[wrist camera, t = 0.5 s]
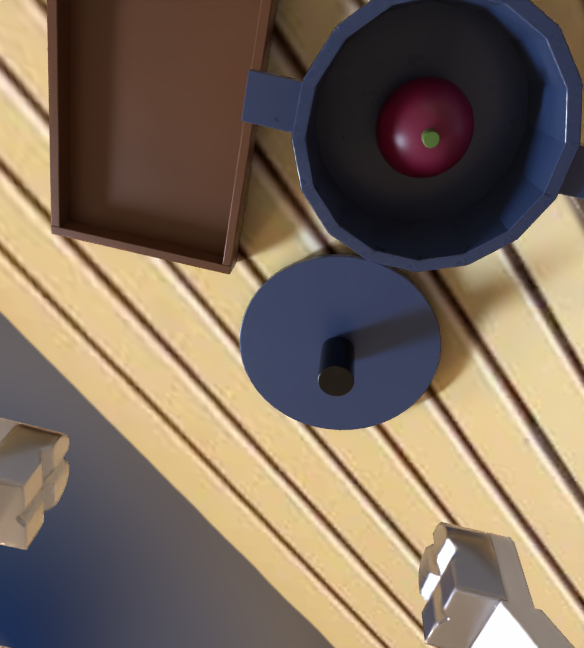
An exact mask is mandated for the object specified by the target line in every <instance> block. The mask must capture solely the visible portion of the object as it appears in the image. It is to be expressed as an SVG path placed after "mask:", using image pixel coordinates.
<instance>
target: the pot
mask: <svg viewBox="0 0 584 648" xmlns="http://www.w3.org/2000/svg"><path fill="white" fill-rule="evenodd" d="M426 76H432V77H440V78H443V79H446V80H448V81H450V82H452V83H453V84H455V85H456V86H458V87H459V88H460V89H461V90H462V91H463V93H464V94H465V95H466V96H467V98H468V100H469V102H470V104H471V106H472V110H473V114H474V132H473V137H472V140H471V143H470V145H469V148H468V149H467V151H466V153H465V154H464V156H463V157H462V158H461V160H460V161H459V162H458V163H457V164H456V165H454V166H453V167H452V168H451V169H449V170H448V171H446V172H444V173H442V174H440V175H437V176H434V177H430V178H413V177H409V176H405V175H403V174H401V173H399V172H397V171H396V170H394V169H393V168H392V167H391V166H389V164H388V163H387V162H386V161H385V159H384V158H383V156H382V155H381V153H380V151H379V148H378V145H377V140H376V123H377V118H378V115H379V112H380V109H381V107H382V105H383V103H384V102H385V100H386V99H387V98H388V96H389V95H390V94H391V93H392V92H393V91H394V90H395V89H396V88H398V87H399V86H400V85H402V84H403V83H405V82H407V81H409V80H412V79H415V78H419V77H426ZM582 91H583V84H582V79H581V77H580V74H579V72H578V69H577V67H576V65H575V62H574V60H573V57H572V55H571V52H570V50H569V47H568V45H567V42H566V40H565V37H564V35H563V32H562V30H561V28H560V27H559V25H558V24H557V23H556V22H555V21H553V20H552V19H551V18H550V17H549V16H548V15H546V14H545V13H544V12H543V11H542V10H541V9H539V8H538V7H537V6H536V5H535V4H534V3H532V2H531V1H530V0H371V1H369V2H368V3H366V4H365V5H364V6H362V7H361V8H360V9H358V10H357V11H356V12H354V13H353V14H352V15H350V16H349V17H348V18H346V19H345V20H344V21H342V22H341V23H340V24H338V25H337V27H335V28H334V30H333V32H332V33H331V35H330V36H329V38H328V40H327V41H326V43H325V44H324V46H323V48H322V49H321V51H320V53H319V54H318V56H317V57H316V59H315V61H314V62H313V64H312V65H311V67H310V69H309V70H308V72H307V73H306V75H305V77H304V78H303V80H299V79H295V78H291V77H286V76H282V75H277V74H273V73H269V72H264V71H260V70H256V69H251V70H249V71H248V78H247V85H246V92H245V99H244V105H243V112H242V119H241V120H242V121H243V122H248V123H252V124H256V125H261V126H265V127H269V128H274V129H278V130H283V131H287V132H291V133H292V144H293V149H294V155H295V160H296V165H297V171H298V176H299V181H300V186H301V190H302V193H303V194H304V196H305V198H306V199H307V201H308V202H309V204H310V205H311V207H312V208H313V210H314V211H315V213H316V215H317V216H318V218H319V219H320V221H321V222H322V224H323V225H324V227H325V229H326V230H327V232H328V233H329V234H330V235H332V236H333V237H335V238H336V239H337V240H339V241H340V242H342V243H343V244H345V245H346V246H348V247H349V248H350V249H352V250H353V251H355V252H356V253H358V254H359V255H361V256H362V257H363V258H365V259H366V260H368V261H370V262H374V263H379V264H383V265H387V266H392V267H396V268H400V269H405V270H409V271H414V272H421V271H428V270H436V269H443V268H450V267H458V266H465V265H467V264H468V265H469V264H471V263H473V262H475V261H477V260H479V259H481V258H483V257H484V256H486V255H488V254H490V253H492V252H494V251H496V250H498V249H500V248H502V247H504V246H506V245H508V244H510V243H512V242H514V241H515V240H517V239H518V238H519V237H520V236H521V235H522V234H523V233H524V232H525V231H526V230H527V229H528V228H529V227H530V225H531V224H532V223H533V222H534V221H535V220H536V219H537V218H538V217H539V216H540V215H541V214H542V213H543V212H544V211H545V210H546V209H547V208H548V207H549V206H550V204H551V203H552V202H553V201H554V200H555V199H556V198H557V196H558V194H563V195H567V196H572V197H576V198H580V199H584V144H580V139H581V115H582Z"/></svg>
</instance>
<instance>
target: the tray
mask: <svg viewBox="0 0 584 648" xmlns="http://www.w3.org/2000/svg"><path fill="white" fill-rule="evenodd" d="M277 4H278V0H47V28H48V80H49V131H50V183H51V233H52V234H56V235H60V236H64V237H69V238H73V239H77V240H82V241H86V242H91V243H95V244H99V245H104V246H108V247H112V248H117V249H121V250H125V251H130V252H134V253H138V254H143V255H147V256H152V257H156V258H160V259H165V260H169V261H173V262H178V263H182V264H186V265H191V266H195V267H199V268H204V269H208V270H212V271H217V272H221V273H226V274H230V273H231V271H232V269H233V268H234V266H235V264H236V260H237V254H238V248H239V242H240V235H241V229H242V223H243V217H244V210H245V204H246V198H247V192H248V185H249V179H250V173H251V167H252V160H253V154H254V148H255V142H256V135H257V129H258V125H256V124H252V123H248V122H243V121H242V120H241V119H242V112H243V105H244V99H245V92H246V85H247V78H248V71H249V70H251V69H256V70H260V71H264V72H267V66H268V60H269V54H270V48H271V41H272V35H273V29H274V23H275V16H276V10H277Z"/></svg>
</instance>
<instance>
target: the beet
mask: <svg viewBox="0 0 584 648" xmlns="http://www.w3.org/2000/svg"><path fill="white" fill-rule="evenodd" d="M473 132H474V114H473V110H472V106H471V104H470V102H469V100H468V98H467V96H466V95H465V94H464V93H463V91H462V90H461V89H460V88H459V87H458V86H456V85H455V84H453V83H452V82H450V81H448V80H446V79H443V78H440V77H432V76H426V77H419V78H415V79H412V80H409V81H407V82H405V83H403V84H402V85H400V86H399V87H398V88H396V89H395V90H394V91H393V92H392V93H391V94H390V95H389V96H388V98H387V99H386V100H385V102H384V103H383V105H382V107H381V109H380V112H379V115H378V118H377V123H376V140H377V145H378V148H379V151H380V153H381V155H382V156H383V158H384V159H385V161H386V162H387V163H388V164H389V166H391V167H392V168H393V169H394V170H396V171H397V172H399V173H401V174H403V175H405V176H409V177H413V178H430V177H434V176H437V175H440V174H442V173H444V172H446V171H448V170H449V169H451V168H452V167H453V166H454V165H456V164H457V163H458V162H459V161H460V160H461V158H462V157H463V156H464V154H465V153H466V151H467V149H468V148H469V145H470V143H471V140H472V137H473Z"/></svg>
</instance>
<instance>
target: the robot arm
mask: <svg viewBox="0 0 584 648" xmlns="http://www.w3.org/2000/svg"><path fill="white" fill-rule="evenodd" d="M68 449H69V436H67V435H66V434H63V433H59V432H55V431H52V430H48V429H44V428H40V427H36V426H33V425H29V424H25V423H19V422H16V421H12V420H8V419H4V418H0V544H2V545H6V546H11V547H16V548H20V549H25V550H27V548H28V547H29V545H30V544H31V542H32V541H33V539H34V538H35V536H36V534H37V533H38V532H39V530H40V528H41V527H42V526H43V524H44V512H46V511H47V510H49V509H51V508H53V507H55V505H56V504H57V502H58V501H59V498H60V497H61V496H62V493H63V491H64V488H65V486H66V483H67V479H68V474H69V463H68V462H67V460H66V459H65V457H64V455H65V453H66V452H67V450H68ZM433 538H434V544H432V545H430V546H428V547H426V549H425V551H424V553H423V556H422V558H421V563H420V568H419V591H420V594H421V595H422V597H423V598H424V599H425V601H426V602H427V603H426V605H425V607H424V609H423V611H422V620H423V628H424V637H425V644H428V645H432V646H435V647H439V648H575V647H574V646H573V645H572V644H571V643H570V642H569V641H568V639H567V638H566V637H565V636H564V635H563V634H562V633H561V631H560V630H559V629H558V628H557V627H556V626H555V625H554V623H553V622H552V621H551V620H550V619H549V618H548V617H547V616H546V614H545V613H544V612H543V611H542V610H539V609H535V608H534V604H533V601H532V598H531V595H530V592H529V588H528V585H527V582H526V579H525V575H524V572H523V569H522V566H521V563H520V559H519V556H518V553H517V550H516V547H515V543H514V541H513V540H512V539H511V538H509V537H505V536H501V535H496V534H492V533H485V532H483V531H478V530H474V529H470V528H465V527H461V526H456V525H452V524H447V523H443V522H441V523H439V524H438V525H437V527H436V529H435V531H434V532H433ZM0 648H9V647H5V646H0Z"/></svg>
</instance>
